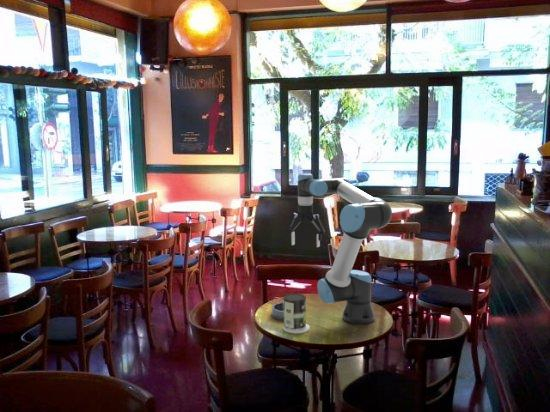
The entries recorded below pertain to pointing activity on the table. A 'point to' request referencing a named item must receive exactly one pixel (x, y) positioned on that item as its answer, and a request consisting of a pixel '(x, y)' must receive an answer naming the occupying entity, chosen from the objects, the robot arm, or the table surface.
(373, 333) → the table surface
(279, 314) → the ring collar
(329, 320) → the table surface
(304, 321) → the coffee can
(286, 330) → the saucer
